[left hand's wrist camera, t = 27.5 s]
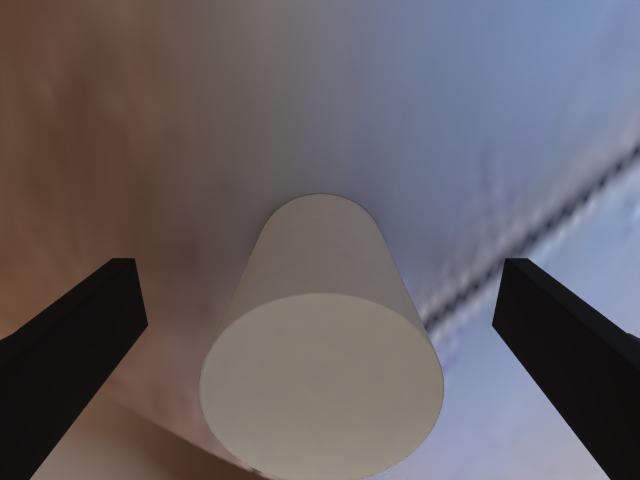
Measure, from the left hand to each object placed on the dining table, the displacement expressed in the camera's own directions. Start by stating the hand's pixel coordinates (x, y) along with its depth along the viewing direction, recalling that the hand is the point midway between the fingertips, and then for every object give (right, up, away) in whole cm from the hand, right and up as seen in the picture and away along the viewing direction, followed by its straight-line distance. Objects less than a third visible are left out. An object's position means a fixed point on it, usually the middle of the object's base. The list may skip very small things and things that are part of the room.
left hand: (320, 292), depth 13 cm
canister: (0, +1, +3) cm, 3 cm away
